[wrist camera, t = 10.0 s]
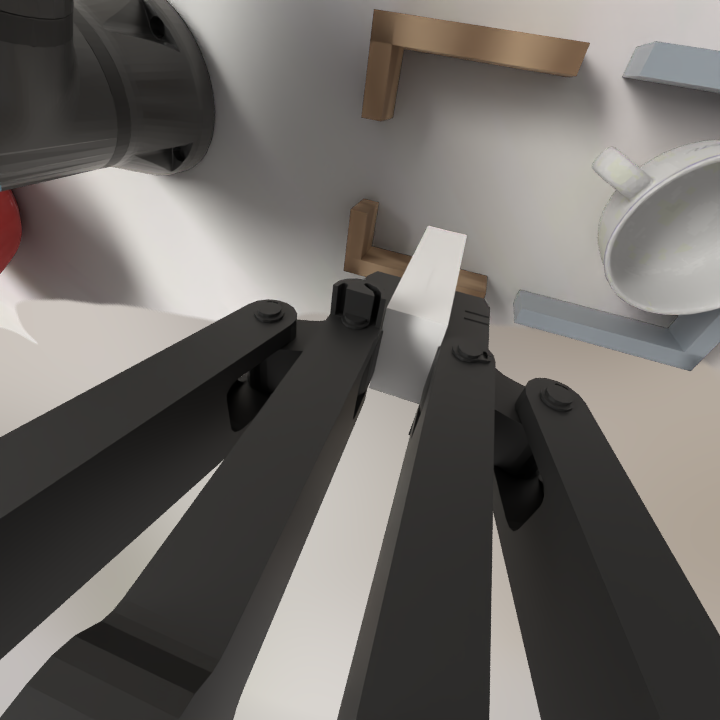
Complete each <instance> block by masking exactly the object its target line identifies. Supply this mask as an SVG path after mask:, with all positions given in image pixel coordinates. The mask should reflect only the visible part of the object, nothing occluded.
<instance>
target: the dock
mask: <svg viewBox="0 0 720 720" xmlns="http://www.w3.org/2000/svg"><path fill="white" fill-rule="evenodd" d="M622 77H625V78H631V79H637V80H643V81H649V82H655V83H661V84H667V85H673V86H679V87H685V88H691V89H697V90H703V91H709V92H715V93H720V51H716V50H710V49H703V48H697V47H690V46H683V45H677V44H670V43H664V42H657V41H656V42H652V43H649V44H645V45H642V46H638V47H636V49H635V51H634V53H633V55H632V57H631V60H630V62H629V64H628V66H627V68H626V70H625V72H624V74H623V76H622ZM513 307H514V323H518V324H522V325H525V326H529V327H532V328H536V329H540V330H543V331H547V332H551V333H554V334H558V335H561V336H565V337H569V338H572V339H576V340H580V341H583V342H587V343H591V344H594V345H598V346H602V347H605V348H609V349H612V350H616V351H619V352H623V353H627V354H630V355H634V356H637V357H642V358H645V359H648V360H652V361H655V362H659V363H663V364H666V365H670V366H674V367H677V368H681V369H684V370H688V371H691V370H692V369H693V368H694V367H695V366H696V365H697V364H698V363H699V362H700V361H701V360H702V359H703V358H704V357H705V356H706V355H707V354H708V353H709V352H710V351H711V350H712V349H713V348H714V347H715V346H716V345H717V344H718V343H719V342H720V308H718V309H714V310H711V311H706V312H701V313H695V314H686V315H679V316H678V317H677V318H676V319H675V321H674V322H673V323H672V324H671V325H670V326H669V328H664V327H660V326H657V325H653V324H649V323H645V322H641V321H638V320H634V319H630V318H626V317H622V316H618V315H615V314H611V313H607V312H603V311H599V310H596V309H592V308H588V307H584V306H580V305H577V304H573V303H569V302H565V301H561V300H557V299H554V298H550V297H546V296H542V295H538V294H535V293H531V292H527V291H523V290H519V292H518V294H517V296H516V299H515V301H514V303H513Z"/></svg>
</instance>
